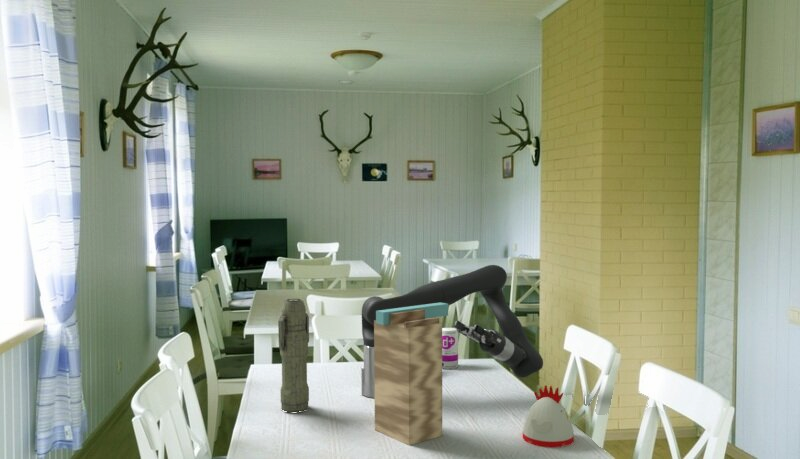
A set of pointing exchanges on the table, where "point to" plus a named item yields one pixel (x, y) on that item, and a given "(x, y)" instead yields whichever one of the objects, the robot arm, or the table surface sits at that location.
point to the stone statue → (294, 355)
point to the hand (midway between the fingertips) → (464, 325)
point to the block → (430, 310)
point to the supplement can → (449, 348)
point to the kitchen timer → (548, 421)
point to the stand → (408, 377)
